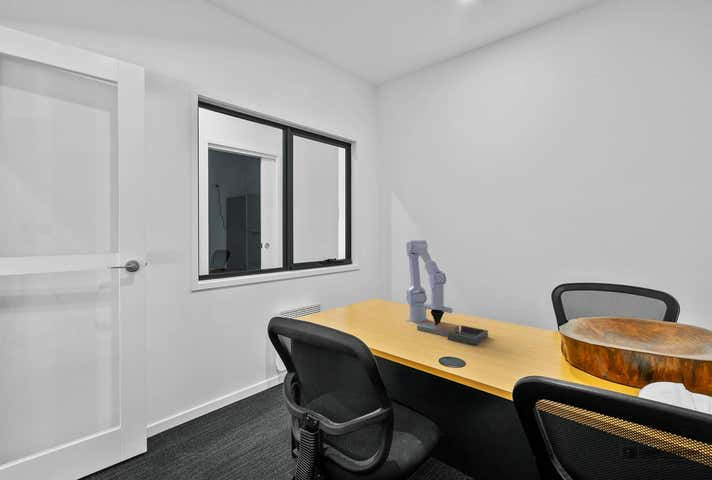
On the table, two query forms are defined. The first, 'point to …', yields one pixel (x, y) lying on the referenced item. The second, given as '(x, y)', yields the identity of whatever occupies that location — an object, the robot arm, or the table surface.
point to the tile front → (452, 328)
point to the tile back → (442, 325)
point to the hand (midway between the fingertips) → (437, 325)
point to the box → (469, 335)
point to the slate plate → (432, 329)
